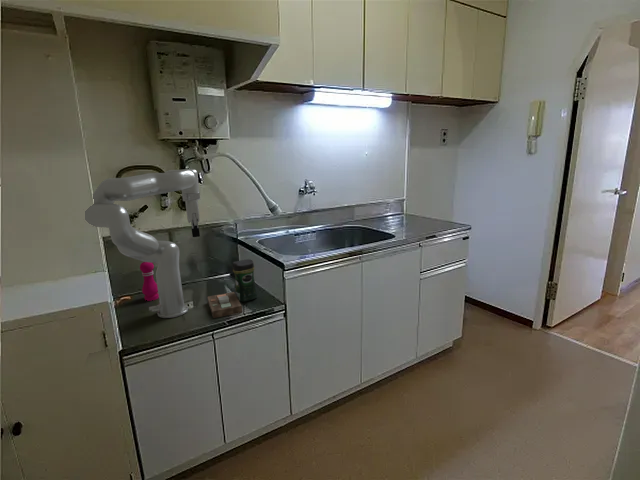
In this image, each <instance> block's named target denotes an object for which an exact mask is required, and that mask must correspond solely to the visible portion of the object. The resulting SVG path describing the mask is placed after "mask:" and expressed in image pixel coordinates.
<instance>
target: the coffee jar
mask: <svg viewBox="0 0 640 480" xmlns="http://www.w3.org/2000/svg"><path fill="white" fill-rule="evenodd" d="M254 272H255V265H254V261H253V259H251V258H246V259H242V260H237V261H233V262H232V273H234V280H235V286H234V287H235V291H234V293H235V295H236V296H237V298H238V300H239V302H240V303H241V302H242V303H243V302H248V301H251V300H252V301H253V300H255V299H257V297H258V291H257V288H256V287H257V286H256V282H255V276H254V274H255V273H254Z"/></svg>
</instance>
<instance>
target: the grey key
mask: <svg viewBox="0 0 640 480" xmlns="http://www.w3.org/2000/svg"><path fill="white" fill-rule="evenodd" d="M218 299H219V304H222V303H227V302H229V298H228V296H222V297H218Z"/></svg>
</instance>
